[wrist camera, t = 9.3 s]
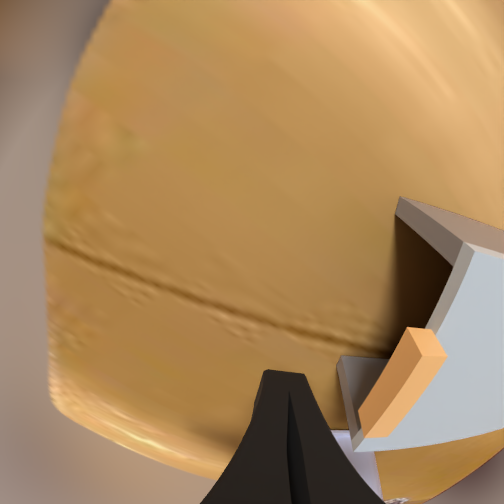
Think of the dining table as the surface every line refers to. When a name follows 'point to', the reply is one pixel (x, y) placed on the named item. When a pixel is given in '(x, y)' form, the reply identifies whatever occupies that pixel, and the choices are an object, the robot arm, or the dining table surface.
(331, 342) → the dining table surface
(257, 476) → the robot arm
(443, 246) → the housing
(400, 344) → the lid
